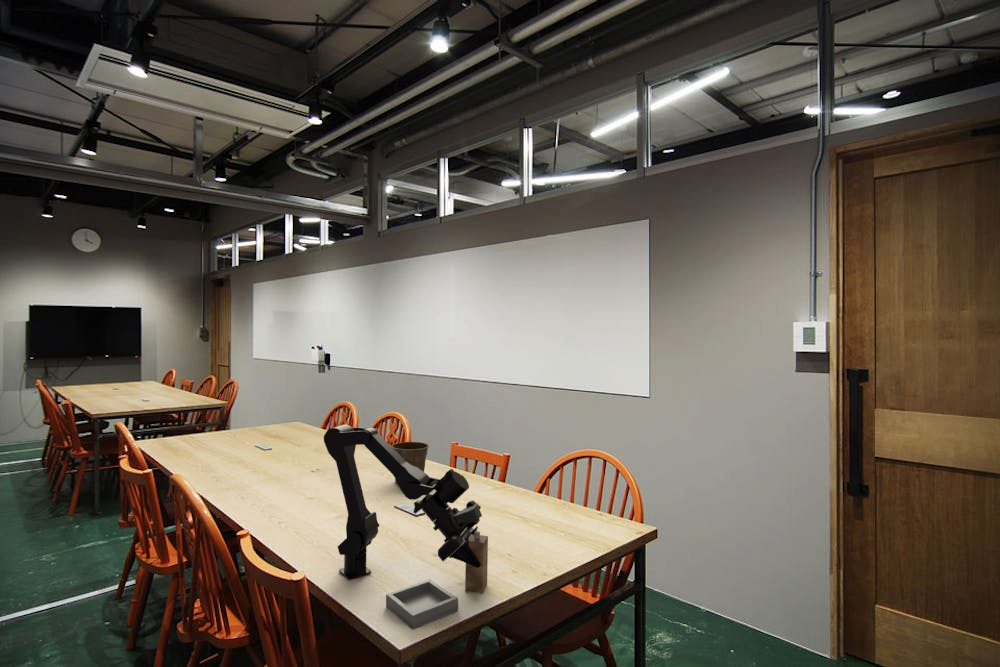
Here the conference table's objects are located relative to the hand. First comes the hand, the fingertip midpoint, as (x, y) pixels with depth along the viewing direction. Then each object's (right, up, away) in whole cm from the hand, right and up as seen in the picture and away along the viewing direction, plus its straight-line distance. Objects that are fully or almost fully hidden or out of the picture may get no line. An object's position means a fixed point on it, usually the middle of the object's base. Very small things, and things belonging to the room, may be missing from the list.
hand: (482, 562), depth 128 cm
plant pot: (-35, -8, +95) cm, 102 cm away
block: (-1, -7, 0) cm, 7 cm away
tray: (-14, -6, -10) cm, 18 cm away
